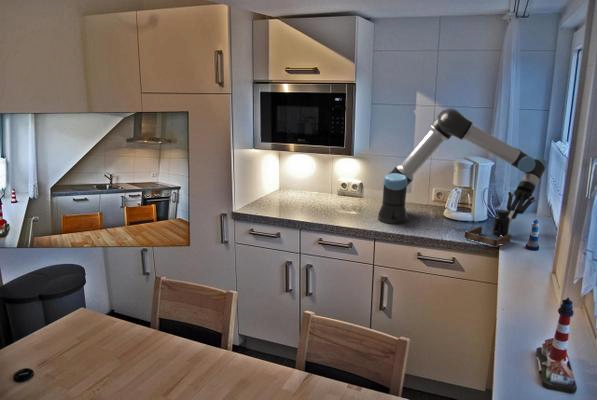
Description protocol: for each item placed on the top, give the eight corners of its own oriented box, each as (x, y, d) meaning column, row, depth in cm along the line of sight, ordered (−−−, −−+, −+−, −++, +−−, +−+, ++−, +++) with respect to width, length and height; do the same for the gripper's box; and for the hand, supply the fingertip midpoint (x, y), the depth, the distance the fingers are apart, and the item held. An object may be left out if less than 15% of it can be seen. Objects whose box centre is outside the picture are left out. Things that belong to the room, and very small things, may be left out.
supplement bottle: (498, 231, 228) (502, 208, 225) (510, 236, 223) (514, 211, 219) (489, 233, 225) (492, 209, 222) (501, 238, 219) (504, 213, 216)
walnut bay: (464, 239, 217) (465, 232, 216) (479, 233, 226) (480, 226, 225) (495, 248, 206) (496, 240, 205) (510, 241, 215) (511, 234, 214)
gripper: (542, 191, 230) (522, 230, 224) (516, 186, 239) (496, 223, 233) (539, 182, 225) (519, 222, 219) (513, 177, 234) (492, 215, 228)
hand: (507, 223), depth 226 cm, fingers closed
